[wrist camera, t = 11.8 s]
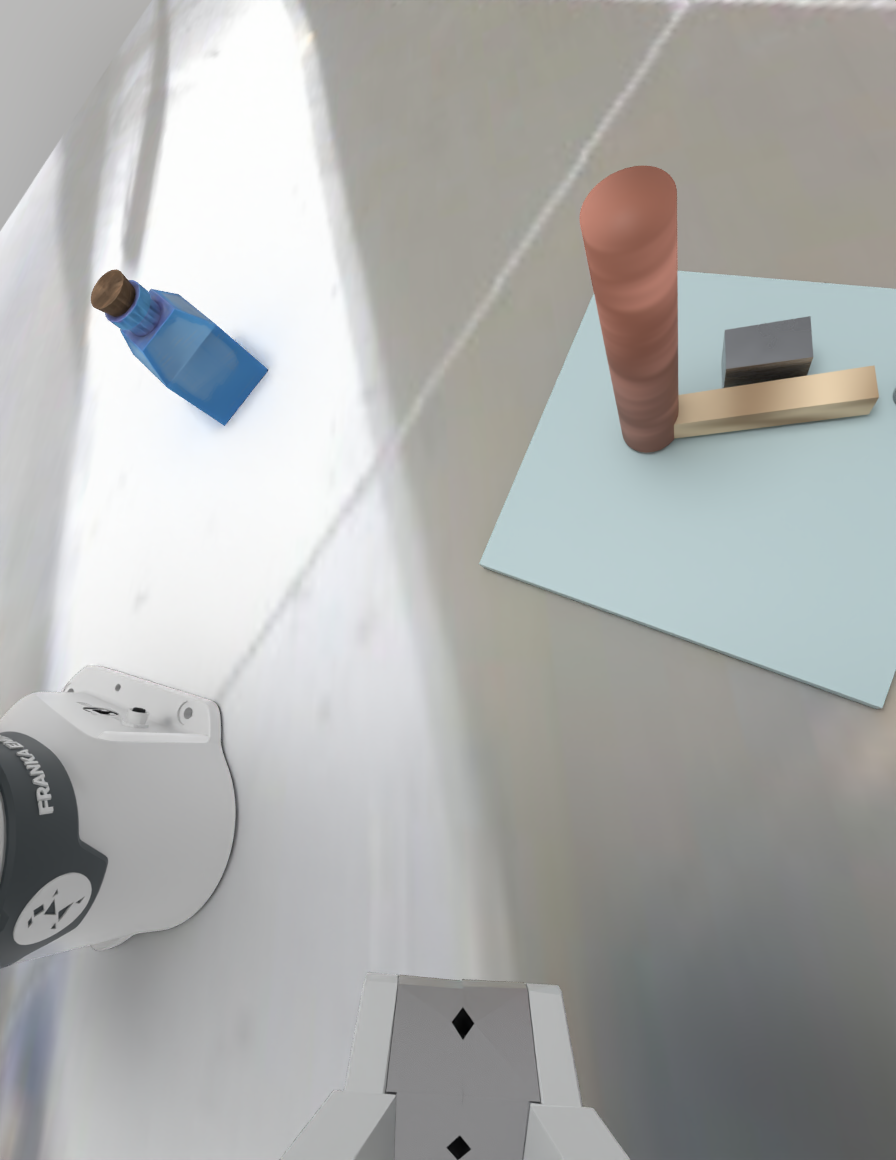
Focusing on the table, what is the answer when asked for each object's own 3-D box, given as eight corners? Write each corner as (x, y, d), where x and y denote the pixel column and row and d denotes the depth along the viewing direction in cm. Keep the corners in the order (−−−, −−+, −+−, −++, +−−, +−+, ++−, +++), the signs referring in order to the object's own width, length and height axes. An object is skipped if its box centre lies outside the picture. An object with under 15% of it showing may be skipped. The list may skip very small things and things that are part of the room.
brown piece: (863, 372, 30) (1028, 47, 16) (870, 426, 29) (1051, 137, 15) (621, 408, 35) (579, 181, 20) (622, 455, 34) (580, 255, 20)
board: (484, 567, 37) (479, 563, 36) (607, 275, 39) (605, 264, 38) (875, 708, 28) (882, 708, 27) (1015, 313, 29) (1026, 299, 28)
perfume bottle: (224, 425, 50) (98, 341, 39) (191, 393, 52) (64, 307, 42) (268, 370, 49) (152, 269, 38) (232, 341, 52) (114, 239, 41)
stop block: (722, 398, 33) (726, 369, 30) (721, 362, 33) (724, 329, 31) (802, 388, 31) (813, 356, 29) (799, 350, 32) (810, 316, 29)
